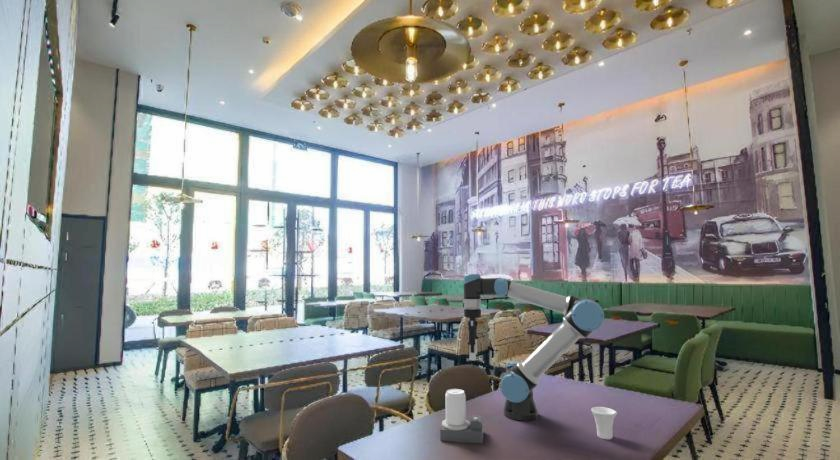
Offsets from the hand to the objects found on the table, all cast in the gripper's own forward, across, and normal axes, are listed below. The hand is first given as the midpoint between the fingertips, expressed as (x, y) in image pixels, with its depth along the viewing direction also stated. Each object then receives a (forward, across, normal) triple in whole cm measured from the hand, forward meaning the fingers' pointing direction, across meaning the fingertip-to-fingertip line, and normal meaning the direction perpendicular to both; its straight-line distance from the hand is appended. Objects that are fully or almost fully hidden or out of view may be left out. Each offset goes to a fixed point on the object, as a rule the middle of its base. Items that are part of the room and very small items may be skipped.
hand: (473, 357), depth 174 cm
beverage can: (+22, +18, -6) cm, 29 cm away
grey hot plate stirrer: (+27, +18, -4) cm, 32 cm away
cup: (+27, +9, +51) cm, 58 cm away
